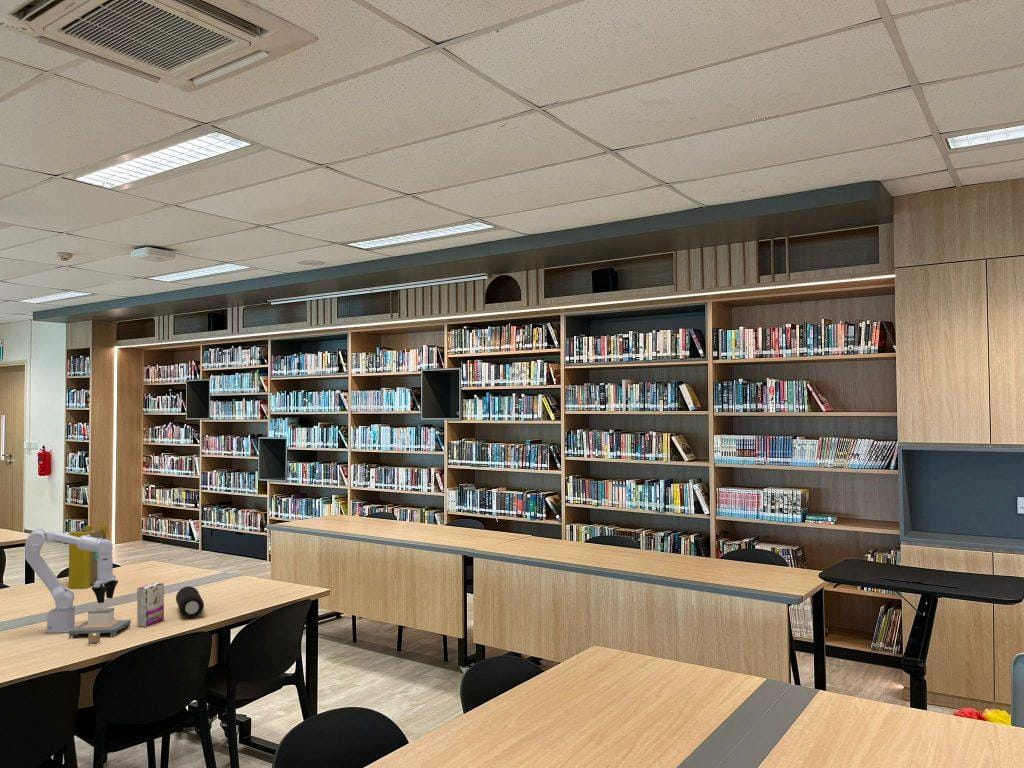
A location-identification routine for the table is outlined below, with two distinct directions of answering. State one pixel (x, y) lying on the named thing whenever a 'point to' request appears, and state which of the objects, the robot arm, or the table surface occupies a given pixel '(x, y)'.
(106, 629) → the stand
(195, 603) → the portable speaker
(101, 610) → the housing
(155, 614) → the candy bar box
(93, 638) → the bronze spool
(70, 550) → the decorative book
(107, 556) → the robot arm
